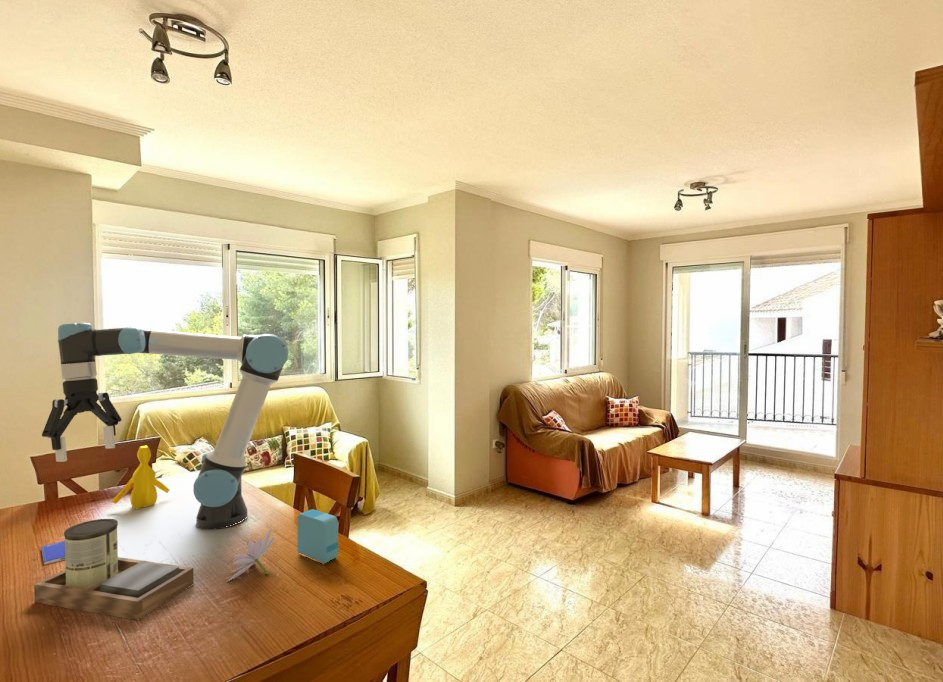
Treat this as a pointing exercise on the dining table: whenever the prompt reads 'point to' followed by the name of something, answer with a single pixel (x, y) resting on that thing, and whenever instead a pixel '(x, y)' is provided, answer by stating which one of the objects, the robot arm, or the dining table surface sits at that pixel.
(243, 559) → the water lily
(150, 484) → the figure statuette
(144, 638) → the dining table surface
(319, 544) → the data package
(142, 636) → the dining table surface
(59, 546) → the hard drive
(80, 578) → the coffee can
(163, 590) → the wooden tray
